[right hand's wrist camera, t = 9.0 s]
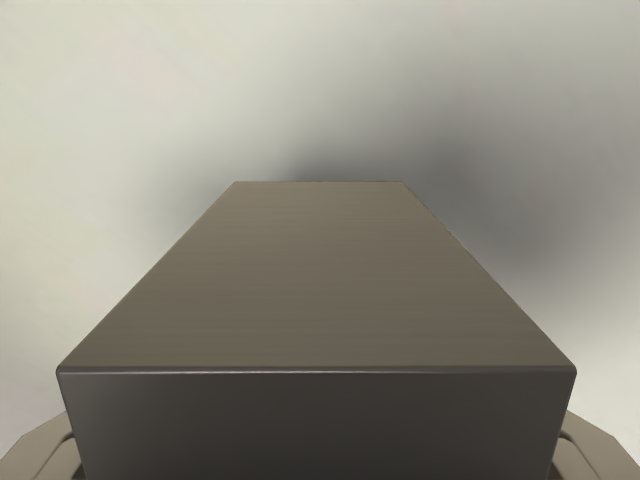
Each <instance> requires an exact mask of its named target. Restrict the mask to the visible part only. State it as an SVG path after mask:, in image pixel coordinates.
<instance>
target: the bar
mask: <svg viewBox="0 0 640 480" xmlns="http://www.w3.org/2000/svg"><path fill="white" fill-rule="evenodd" d="M576 375H577V370H576V367H575V365H574V364H573V363H572V362H571V361H570V360H569V359H568V358H567V357H566V356H565V355H564V354H563V353H562V352H561V351H560V349H559V348H558V347H557V346H556V345H555V344H554V343H553V342H552V341H551V340H550V339H549V338H548V337H547V336H546V335H545V333H544V332H543V331H542V330H541V329H540V328H539V327H538V326H537V325H536V324H535V323H534V322H533V321H532V320H531V319H530V318H529V316H528V315H527V314H526V313H525V312H524V311H523V310H522V309H521V308H520V307H519V306H518V305H517V304H516V303H515V302H514V300H513V299H512V298H511V297H510V296H509V295H508V294H507V293H506V292H505V291H504V290H503V289H502V288H501V287H500V286H499V285H498V283H497V282H496V281H495V280H494V279H493V278H492V277H491V276H490V275H489V274H488V273H487V272H486V271H485V270H484V269H483V267H482V266H481V265H480V264H479V263H478V262H477V261H476V260H475V259H474V258H473V257H472V256H471V255H470V254H469V253H468V252H467V250H466V249H465V248H464V247H463V246H462V245H461V244H460V243H459V242H458V241H457V240H456V239H455V238H454V237H453V236H452V234H451V233H450V232H449V231H448V230H447V229H446V228H445V227H444V226H443V225H442V224H441V223H440V222H439V221H438V220H437V219H436V217H435V216H434V215H433V214H432V213H431V212H430V211H429V210H428V209H427V208H426V207H425V206H424V205H423V204H422V203H421V201H420V200H419V199H418V198H417V197H416V196H415V195H414V194H413V193H412V192H411V191H410V190H409V189H408V188H407V187H406V185H405V184H404V183H403V182H234V183H233V184H232V185H231V186H230V187H229V188H228V189H227V190H226V191H225V192H224V194H223V195H222V196H221V197H220V198H219V199H218V200H217V201H216V202H215V203H214V204H213V205H212V206H211V207H210V208H209V209H208V210H207V211H206V212H205V213H204V214H203V215H202V216H201V217H200V219H199V220H198V221H197V222H196V223H195V224H194V225H193V226H192V227H191V228H190V229H189V230H188V231H187V232H186V233H185V234H184V235H183V236H182V237H181V238H180V239H179V240H178V241H177V242H176V244H175V245H174V246H173V247H172V248H171V249H170V250H169V251H168V252H167V253H166V254H165V255H164V256H163V257H162V258H161V259H160V260H159V261H158V262H157V263H156V264H155V265H154V266H153V267H152V269H151V270H150V271H149V272H148V273H147V274H146V275H145V276H144V277H143V278H142V279H141V280H140V281H139V282H138V283H137V284H136V285H135V286H134V287H133V288H132V289H131V290H130V291H129V292H128V294H127V295H126V296H125V297H124V298H123V299H122V300H121V301H120V302H119V303H118V304H117V305H116V306H115V307H114V308H113V309H112V310H111V311H110V312H109V313H108V314H107V315H106V316H105V317H104V319H103V320H102V321H101V322H100V323H99V324H98V325H97V326H96V327H95V328H94V329H93V330H92V331H91V332H90V333H89V334H88V335H87V336H86V337H85V338H84V339H83V340H82V341H81V343H80V344H79V345H78V346H77V347H76V348H75V349H74V350H73V351H72V352H71V353H70V354H69V355H68V356H67V357H66V358H65V359H64V360H63V361H62V362H61V363H60V364H59V365H58V367H57V369H56V376H57V380H58V383H59V387H60V390H61V394H62V397H63V400H64V404H65V407H66V411H67V414H68V418H69V421H70V424H71V428H72V431H73V435H74V438H75V442H76V445H77V448H78V452H79V455H80V459H81V462H82V466H83V469H84V472H85V476H86V479H87V480H547V477H548V473H549V469H550V466H551V462H552V459H553V455H554V452H555V448H556V445H557V441H558V438H559V434H560V431H561V427H562V424H563V420H564V417H565V413H566V410H567V406H568V403H569V399H570V396H571V392H572V389H573V385H574V382H575V378H576Z"/></svg>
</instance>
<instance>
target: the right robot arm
mask: <svg viewBox="0 0 640 480" xmlns="http://www.w3.org/2000/svg"><path fill="white" fill-rule="evenodd" d="M0 480H87V479H86V476H85V472H84V469H83V466H82V462H81V459H80V455H79V452H78V448H77V445H76V442H75V438H74V435H73V431H72V428H71V424H70V421H69V418H68V414H67V411H65V412H63V413H62V414H60V415H58V416H56V417H55V418H53V419H51V420H49V421H48V422H46V423H44V424H42V425H41V426H39V427H37V428H35V429H34V430H32V431H30V432H28V433H27V434H25V435H23V436H22V437H21V438H20V439H19V440H18V441H17V442H16V443H15V444H14V446H13V447H12V448H11V449H10V450H9V451H8V452H7V454H6V455H5V456H4V457H3V458H2V459H1V460H0ZM547 480H640V467H639V466H638V464H637V463H636V462H635V461H634V460H633V459H632V457H631V456H630V455H629V454H628V453H627V452H626V450H625V449H624V448H623V447H622V446H621V445H620V443H619V442H618V441H617V440H616V439H615V438H614V437H613V436H611V435H610V434H608V433H606V432H604V431H603V430H601V429H599V428H598V427H596V426H594V425H592V424H591V423H589V422H587V421H585V420H584V419H582V418H580V417H579V416H577V415H575V414H573V413H572V412H570V411H568V410H566V413H565V417H564V420H563V424H562V427H561V431H560V434H559V438H558V441H557V445H556V448H555V452H554V455H553V459H552V462H551V466H550V469H549V473H548V477H547Z"/></svg>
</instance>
